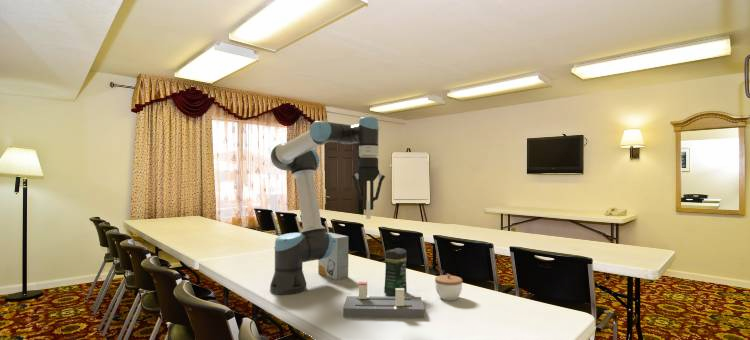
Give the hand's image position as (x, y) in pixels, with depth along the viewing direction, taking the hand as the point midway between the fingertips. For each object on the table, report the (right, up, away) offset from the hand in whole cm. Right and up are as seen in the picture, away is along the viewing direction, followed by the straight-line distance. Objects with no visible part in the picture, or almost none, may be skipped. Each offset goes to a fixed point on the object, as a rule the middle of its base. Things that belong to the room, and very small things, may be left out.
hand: (368, 218), depth 141 cm
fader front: (+11, -29, -12) cm, 33 cm away
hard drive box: (-18, -33, +39) cm, 54 cm away
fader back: (-2, -29, -5) cm, 29 cm away
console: (+6, -32, -9) cm, 34 cm away
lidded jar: (+32, -33, +5) cm, 46 cm away
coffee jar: (+11, -33, +11) cm, 36 cm away
